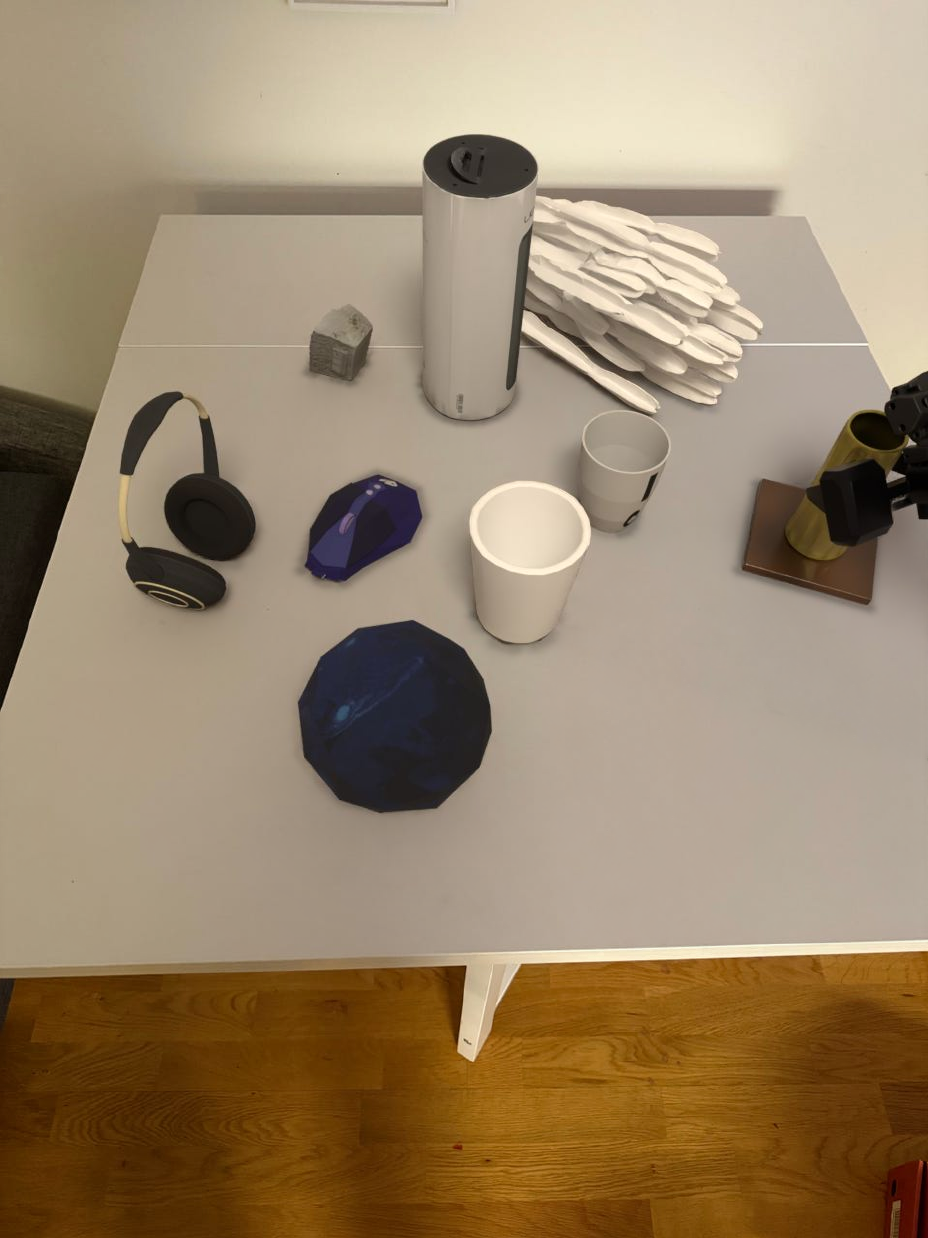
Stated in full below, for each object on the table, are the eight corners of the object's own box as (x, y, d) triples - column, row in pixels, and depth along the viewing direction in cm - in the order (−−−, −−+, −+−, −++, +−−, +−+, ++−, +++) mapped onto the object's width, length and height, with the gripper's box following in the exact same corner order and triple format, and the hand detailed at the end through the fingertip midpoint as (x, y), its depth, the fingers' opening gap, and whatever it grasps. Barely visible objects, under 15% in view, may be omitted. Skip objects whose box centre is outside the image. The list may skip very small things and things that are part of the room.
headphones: (125, 627, 78) (42, 472, 61) (194, 507, 86) (138, 341, 69) (214, 649, 77) (154, 497, 60) (276, 526, 85) (238, 362, 68)
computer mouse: (441, 500, 87) (442, 472, 84) (363, 605, 80) (360, 579, 77) (363, 466, 90) (360, 438, 86) (280, 565, 82) (273, 539, 79)
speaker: (498, 433, 93) (519, 201, 71) (407, 409, 95) (401, 175, 73) (526, 371, 99) (553, 139, 77) (440, 349, 100) (443, 116, 78)
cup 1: (581, 652, 78) (605, 566, 67) (473, 666, 77) (480, 581, 66) (556, 565, 83) (575, 473, 73) (456, 577, 82) (460, 485, 72)
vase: (778, 549, 84) (836, 443, 72) (790, 505, 87) (847, 397, 75) (842, 569, 83) (911, 465, 71) (851, 524, 86) (918, 417, 74)
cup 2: (637, 554, 84) (659, 483, 76) (557, 530, 86) (571, 458, 77) (656, 496, 89) (679, 423, 80) (580, 474, 90) (595, 400, 82)
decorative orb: (247, 810, 63) (361, 747, 53) (282, 637, 71) (386, 554, 61) (405, 858, 70) (532, 810, 60) (420, 696, 79) (533, 630, 69)
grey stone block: (295, 386, 95) (290, 316, 89) (330, 353, 101) (328, 285, 95) (356, 402, 93) (355, 331, 88) (388, 367, 100) (389, 299, 94)
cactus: (411, 252, 94) (681, 400, 82) (505, 109, 93) (794, 237, 81) (463, 324, 110) (696, 457, 98) (544, 202, 109) (791, 322, 96)
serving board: (876, 515, 88) (880, 508, 87) (867, 605, 82) (872, 599, 81) (759, 484, 90) (762, 477, 89) (741, 570, 84) (744, 564, 83)
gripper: (1083, 332, 64) (913, 362, 79) (889, 400, 59) (746, 418, 74) (1099, 478, 67) (931, 480, 82) (914, 554, 62) (771, 542, 77)
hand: (848, 477), depth 78 cm, fingers open, 9 cm apart
